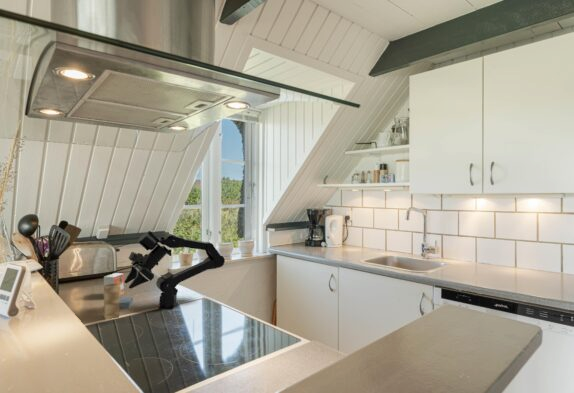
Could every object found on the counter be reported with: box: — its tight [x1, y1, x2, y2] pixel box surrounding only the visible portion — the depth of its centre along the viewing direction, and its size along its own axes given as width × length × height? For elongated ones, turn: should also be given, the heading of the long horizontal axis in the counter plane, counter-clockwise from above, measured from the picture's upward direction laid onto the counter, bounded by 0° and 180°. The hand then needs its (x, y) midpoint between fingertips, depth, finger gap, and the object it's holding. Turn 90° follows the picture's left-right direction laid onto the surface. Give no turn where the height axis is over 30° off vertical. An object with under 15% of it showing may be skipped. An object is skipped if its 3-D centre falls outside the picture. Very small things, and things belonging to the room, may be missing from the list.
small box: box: [103, 272, 125, 297], centre depth 170 cm, size 8×6×10 cm
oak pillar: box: [103, 283, 120, 320], centre depth 144 cm, size 5×5×13 cm
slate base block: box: [119, 296, 134, 310], centre depth 157 cm, size 8×8×3 cm
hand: (127, 285), depth 147 cm, fingers open, 9 cm apart
